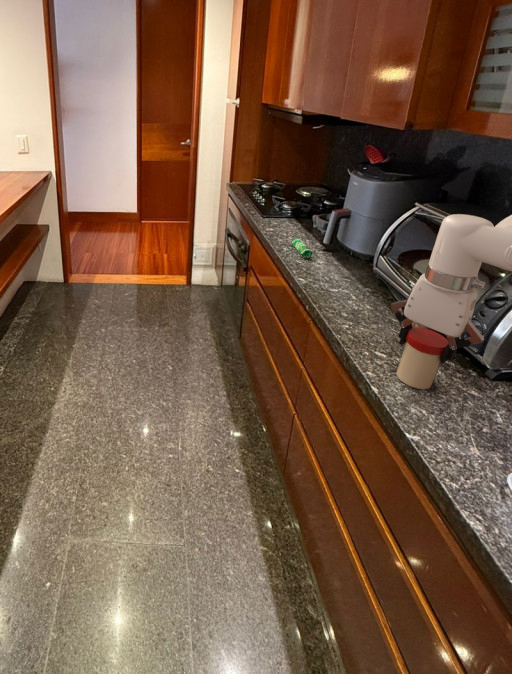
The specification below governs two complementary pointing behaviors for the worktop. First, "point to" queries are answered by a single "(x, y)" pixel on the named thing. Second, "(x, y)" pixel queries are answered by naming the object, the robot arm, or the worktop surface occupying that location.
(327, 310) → the worktop surface
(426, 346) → the red lid
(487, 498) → the worktop surface
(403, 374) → the jar
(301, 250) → the candy
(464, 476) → the worktop surface
